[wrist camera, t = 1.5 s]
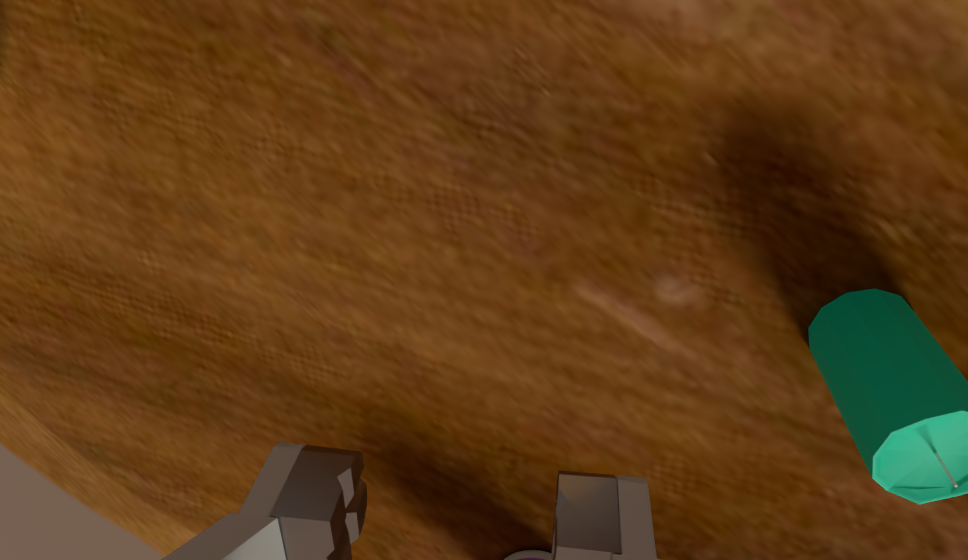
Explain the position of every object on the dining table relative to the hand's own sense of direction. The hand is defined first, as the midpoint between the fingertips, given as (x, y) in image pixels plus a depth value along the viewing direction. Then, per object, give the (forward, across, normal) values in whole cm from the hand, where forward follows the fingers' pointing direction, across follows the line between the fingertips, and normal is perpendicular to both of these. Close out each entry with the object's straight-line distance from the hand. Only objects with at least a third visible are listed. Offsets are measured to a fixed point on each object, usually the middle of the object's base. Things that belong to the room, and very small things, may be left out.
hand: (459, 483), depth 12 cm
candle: (+27, +20, -14) cm, 37 cm away
